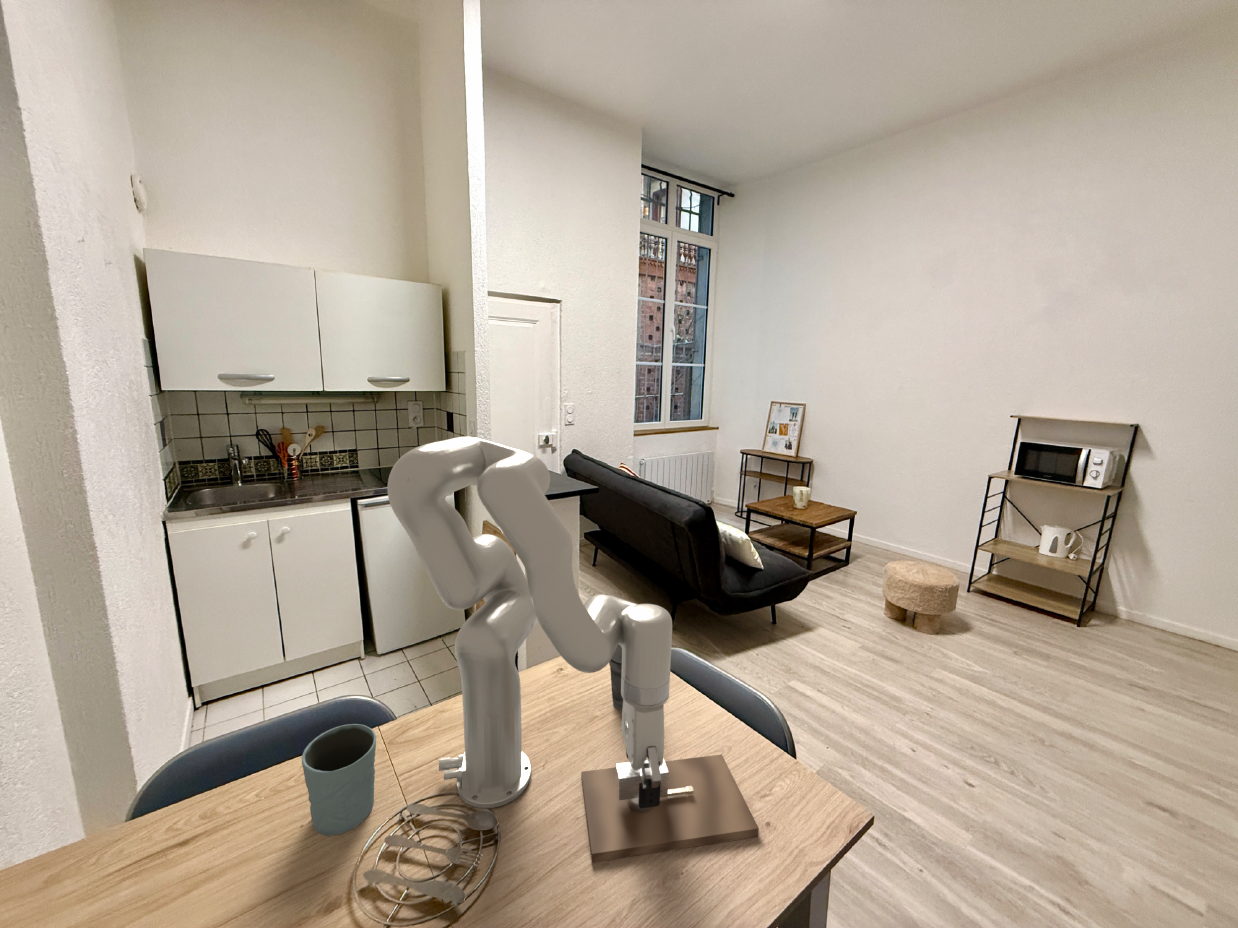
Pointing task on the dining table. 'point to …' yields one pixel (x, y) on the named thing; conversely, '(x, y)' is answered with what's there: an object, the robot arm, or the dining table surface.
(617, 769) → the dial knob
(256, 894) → the dining table surface
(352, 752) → the blue-grey open cylinder
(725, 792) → the board
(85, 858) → the dining table surface
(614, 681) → the beverage cup
